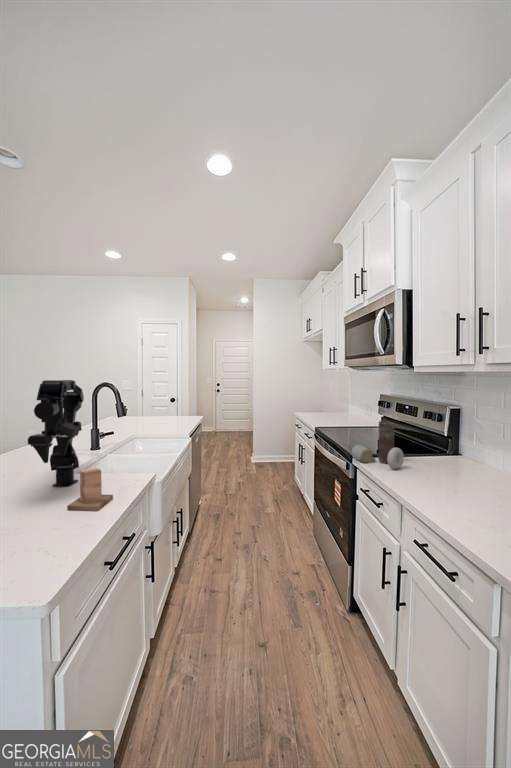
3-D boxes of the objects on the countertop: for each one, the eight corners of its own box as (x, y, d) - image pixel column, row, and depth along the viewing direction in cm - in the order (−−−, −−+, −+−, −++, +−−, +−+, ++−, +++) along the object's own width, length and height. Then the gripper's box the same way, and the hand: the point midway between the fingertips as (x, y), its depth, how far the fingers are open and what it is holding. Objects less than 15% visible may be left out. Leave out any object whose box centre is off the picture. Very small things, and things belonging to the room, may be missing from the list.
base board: (84, 498, 115) (84, 494, 115) (112, 499, 115) (112, 494, 114) (67, 510, 105) (67, 505, 105) (97, 511, 105) (97, 506, 104)
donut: (398, 466, 155) (398, 445, 155) (405, 468, 153) (405, 446, 152) (385, 469, 150) (385, 448, 150) (392, 471, 147) (392, 449, 147)
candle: (375, 459, 167) (376, 420, 166) (389, 459, 167) (390, 420, 167) (382, 464, 159) (383, 423, 158) (397, 464, 160) (397, 422, 159)
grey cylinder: (360, 464, 159) (361, 448, 159) (350, 459, 167) (351, 444, 167) (379, 462, 163) (379, 447, 162) (368, 458, 170) (369, 443, 170)
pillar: (80, 500, 110) (79, 470, 109) (96, 496, 113) (95, 467, 113) (85, 504, 106) (85, 473, 106) (101, 500, 110) (101, 470, 109)
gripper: (59, 419, 107) (60, 467, 107) (90, 412, 125) (91, 453, 126) (25, 419, 107) (27, 466, 108) (62, 412, 126) (62, 453, 127)
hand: (54, 459), depth 117 cm, fingers open, 9 cm apart
